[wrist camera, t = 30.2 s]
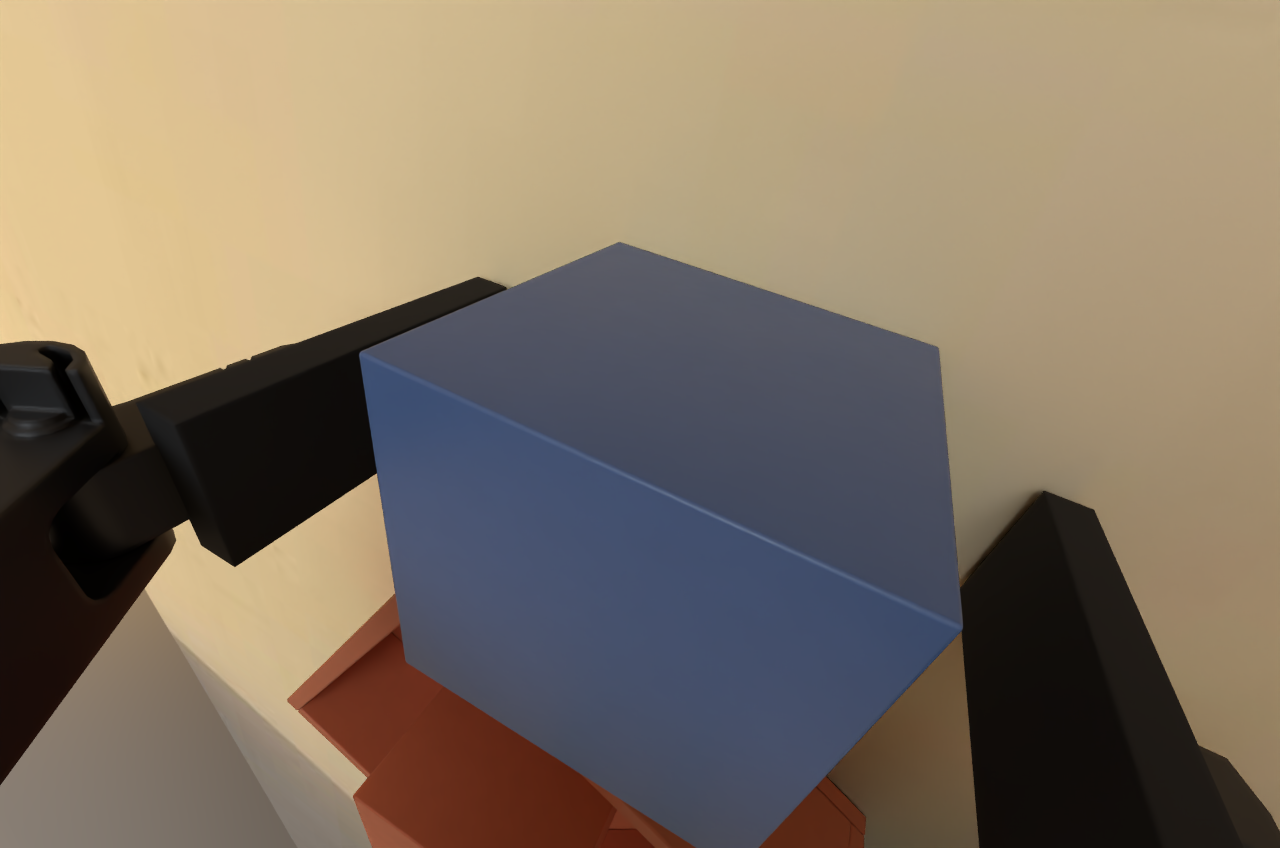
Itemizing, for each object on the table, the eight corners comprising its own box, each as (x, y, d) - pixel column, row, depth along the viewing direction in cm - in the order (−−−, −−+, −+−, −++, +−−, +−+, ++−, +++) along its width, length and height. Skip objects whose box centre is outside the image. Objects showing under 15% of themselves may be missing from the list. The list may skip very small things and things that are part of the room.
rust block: (657, 706, 16) (551, 945, 12) (628, 784, 20) (537, 993, 15) (500, 617, 18) (351, 796, 13) (498, 704, 21) (379, 870, 17)
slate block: (940, 346, 8) (966, 629, 4) (807, 577, 12) (736, 874, 7) (618, 240, 10) (357, 351, 5) (583, 472, 13) (403, 662, 9)
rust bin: (867, 818, 15) (851, 1027, 12) (600, 826, 24) (546, 948, 21) (531, 469, 14) (404, 584, 11) (382, 611, 23) (286, 700, 20)
